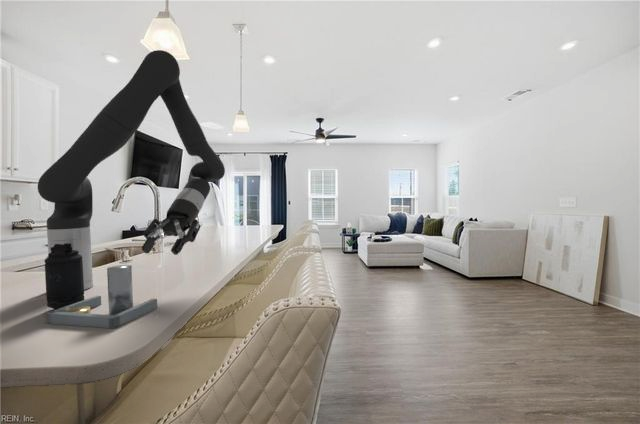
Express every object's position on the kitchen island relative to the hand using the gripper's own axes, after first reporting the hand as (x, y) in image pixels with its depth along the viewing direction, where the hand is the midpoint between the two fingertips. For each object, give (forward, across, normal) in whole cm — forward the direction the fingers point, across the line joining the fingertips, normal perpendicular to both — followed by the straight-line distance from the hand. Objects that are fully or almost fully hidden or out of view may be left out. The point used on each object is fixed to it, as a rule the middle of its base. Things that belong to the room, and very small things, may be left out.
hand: (159, 252), depth 77 cm
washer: (+19, -6, -3) cm, 21 cm away
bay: (+17, -2, -2) cm, 18 cm away
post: (+17, +1, -1) cm, 17 cm away
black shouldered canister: (+17, -15, 0) cm, 22 cm away
